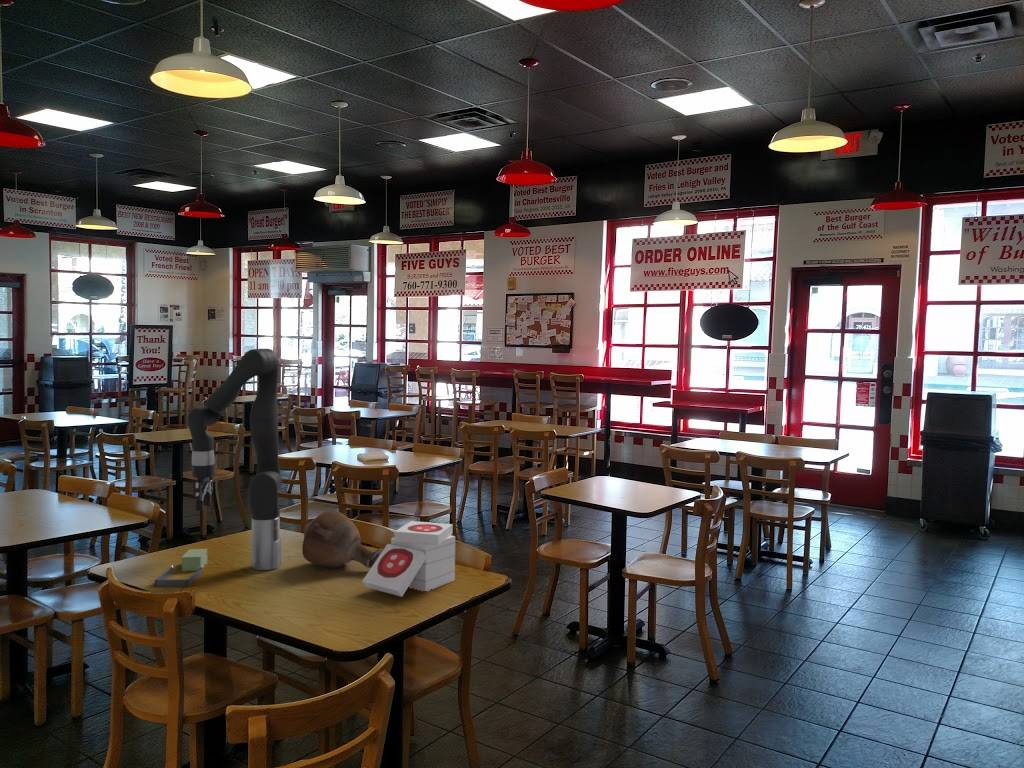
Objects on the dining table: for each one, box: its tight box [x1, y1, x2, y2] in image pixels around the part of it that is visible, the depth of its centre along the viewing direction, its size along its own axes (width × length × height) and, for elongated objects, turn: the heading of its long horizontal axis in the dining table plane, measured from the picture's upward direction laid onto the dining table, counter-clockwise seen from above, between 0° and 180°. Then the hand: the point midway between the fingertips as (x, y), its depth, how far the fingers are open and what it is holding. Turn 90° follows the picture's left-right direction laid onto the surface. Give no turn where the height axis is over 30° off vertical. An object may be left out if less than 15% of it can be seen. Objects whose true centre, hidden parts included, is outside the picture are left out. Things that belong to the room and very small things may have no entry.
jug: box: [301, 509, 384, 569], centre depth 266 cm, size 20×20×30 cm
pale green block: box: [181, 548, 208, 572], centre depth 265 cm, size 6×10×5 cm, turn 9°
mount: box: [154, 565, 204, 587], centre depth 250 cm, size 11×14×3 cm
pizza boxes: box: [361, 520, 456, 597], centre depth 248 cm, size 19×30×18 cm, turn 146°
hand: (203, 508), depth 274 cm, fingers open, 8 cm apart
